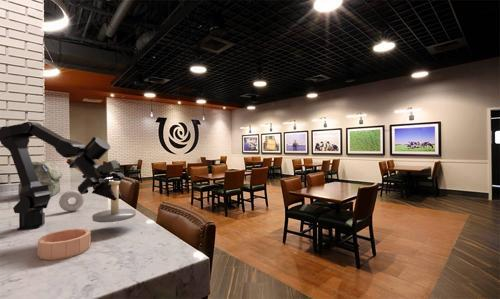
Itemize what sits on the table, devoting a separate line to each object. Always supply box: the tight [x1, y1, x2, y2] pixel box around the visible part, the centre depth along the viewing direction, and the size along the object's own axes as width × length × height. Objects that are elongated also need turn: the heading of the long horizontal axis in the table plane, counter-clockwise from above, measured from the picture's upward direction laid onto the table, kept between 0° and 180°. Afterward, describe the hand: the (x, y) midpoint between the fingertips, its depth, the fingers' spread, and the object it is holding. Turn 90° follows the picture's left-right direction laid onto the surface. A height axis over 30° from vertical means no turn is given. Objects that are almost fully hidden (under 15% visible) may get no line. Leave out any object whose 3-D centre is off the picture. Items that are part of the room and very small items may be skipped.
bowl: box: [37, 228, 92, 261], centre depth 73 cm, size 12×12×4 cm
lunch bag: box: [17, 160, 63, 198], centre depth 160 cm, size 26×18×22 cm
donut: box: [58, 189, 85, 212], centre depth 119 cm, size 10×4×10 cm, turn 134°
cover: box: [91, 181, 137, 223], centre depth 92 cm, size 14×14×13 cm
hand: (118, 198), depth 92 cm, fingers closed on cover, 2 cm apart
